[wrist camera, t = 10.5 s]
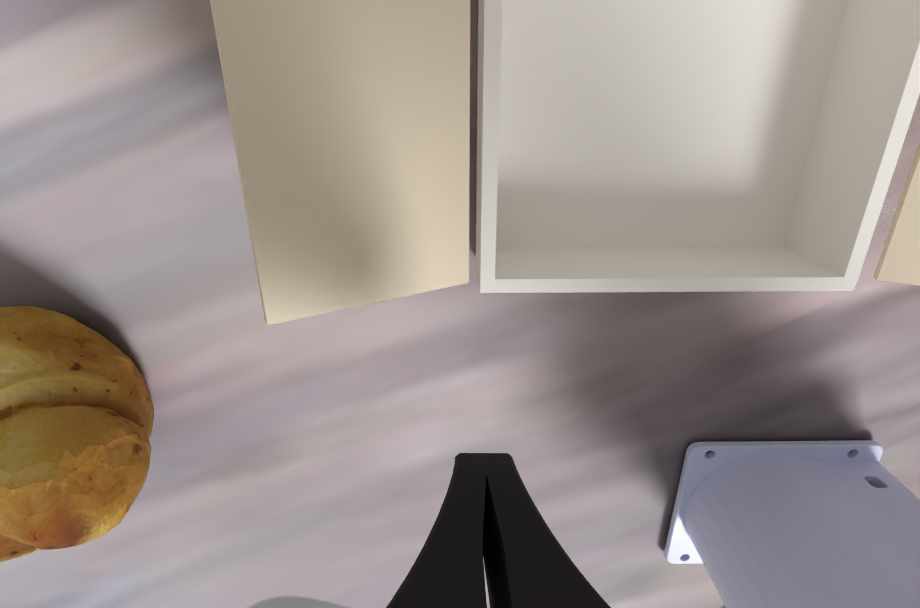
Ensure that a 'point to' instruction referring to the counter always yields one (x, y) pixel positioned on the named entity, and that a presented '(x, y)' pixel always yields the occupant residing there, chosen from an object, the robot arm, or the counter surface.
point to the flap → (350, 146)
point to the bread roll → (66, 432)
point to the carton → (687, 141)
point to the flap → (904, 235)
